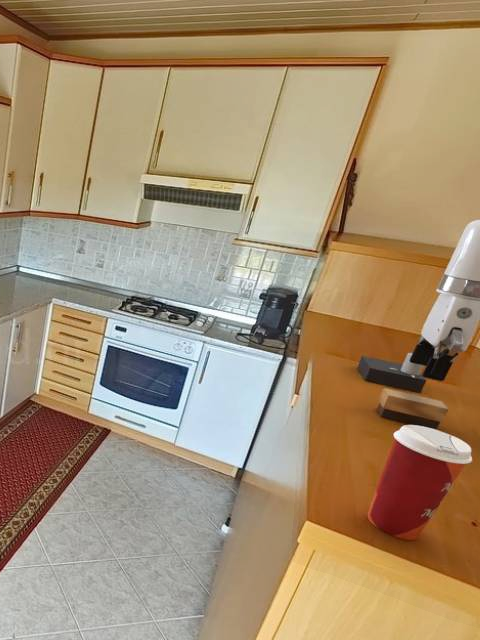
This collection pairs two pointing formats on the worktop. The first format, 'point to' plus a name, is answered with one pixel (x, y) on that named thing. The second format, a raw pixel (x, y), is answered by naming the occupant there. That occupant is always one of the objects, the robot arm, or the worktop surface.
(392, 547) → the worktop surface
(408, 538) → the paper cup
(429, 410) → the brush
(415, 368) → the stove knob
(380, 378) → the stove
